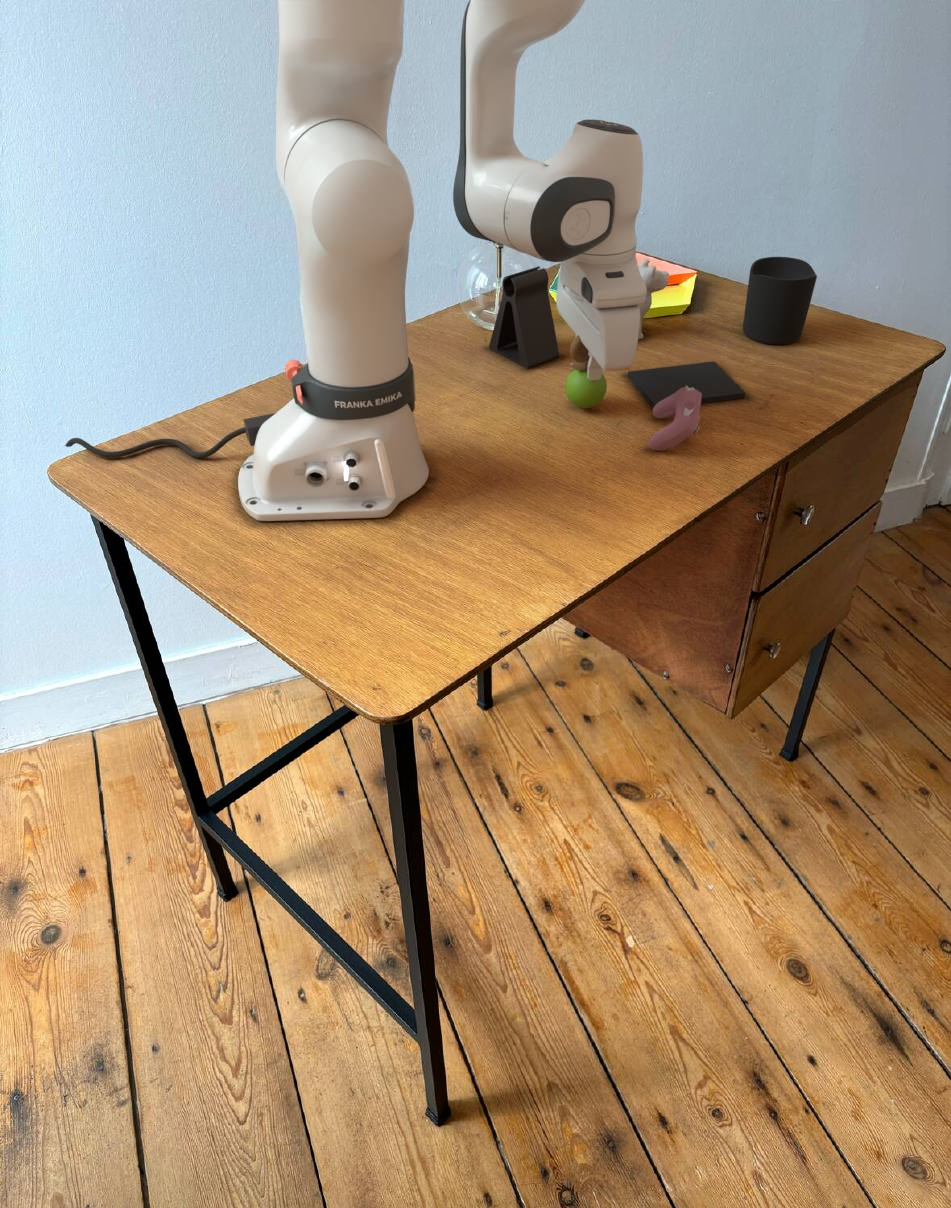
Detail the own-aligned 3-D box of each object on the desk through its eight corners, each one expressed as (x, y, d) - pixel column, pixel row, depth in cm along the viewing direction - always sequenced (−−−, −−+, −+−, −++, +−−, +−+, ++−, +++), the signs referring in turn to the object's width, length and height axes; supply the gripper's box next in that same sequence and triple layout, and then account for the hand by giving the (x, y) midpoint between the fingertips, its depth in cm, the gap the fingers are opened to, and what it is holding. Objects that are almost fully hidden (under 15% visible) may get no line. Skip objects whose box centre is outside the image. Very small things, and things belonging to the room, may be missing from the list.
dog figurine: (668, 335, 145) (677, 265, 138) (589, 346, 142) (594, 275, 135) (653, 321, 149) (661, 252, 142) (576, 331, 146) (580, 262, 139)
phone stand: (488, 348, 142) (488, 267, 134) (520, 337, 145) (521, 258, 137) (527, 369, 136) (529, 286, 129) (559, 358, 139) (563, 276, 131)
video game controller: (676, 466, 118) (709, 423, 114) (644, 448, 118) (676, 404, 113) (679, 427, 126) (710, 385, 121) (649, 410, 125) (679, 368, 121)
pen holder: (815, 333, 145) (830, 267, 138) (783, 352, 139) (797, 285, 133) (760, 316, 150) (772, 251, 143) (727, 334, 144) (738, 268, 138)
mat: (653, 409, 127) (654, 404, 126) (627, 376, 134) (627, 371, 134) (744, 397, 129) (745, 392, 128) (713, 366, 136) (714, 361, 136)
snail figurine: (619, 409, 126) (627, 321, 119) (576, 418, 124) (582, 330, 117) (598, 391, 130) (605, 306, 123) (556, 401, 128) (561, 314, 121)
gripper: (547, 240, 123) (542, 342, 132) (600, 300, 108) (591, 411, 116) (593, 236, 124) (586, 338, 133) (653, 295, 109) (640, 405, 117)
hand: (589, 373), depth 124 cm, fingers closed on snail figurine
